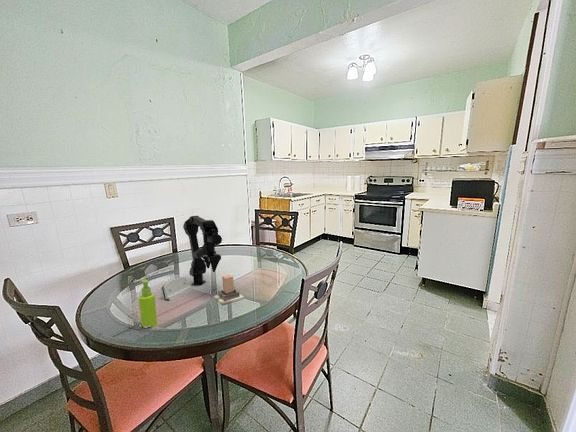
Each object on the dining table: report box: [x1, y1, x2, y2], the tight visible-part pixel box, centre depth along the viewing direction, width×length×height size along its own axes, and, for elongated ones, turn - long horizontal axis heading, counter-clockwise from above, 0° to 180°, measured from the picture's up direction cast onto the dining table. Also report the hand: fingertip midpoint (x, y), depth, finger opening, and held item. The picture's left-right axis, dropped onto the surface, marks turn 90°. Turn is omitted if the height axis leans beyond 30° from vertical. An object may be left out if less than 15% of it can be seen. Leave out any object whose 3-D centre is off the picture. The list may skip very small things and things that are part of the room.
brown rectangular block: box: [221, 274, 235, 295], centre depth 132 cm, size 4×4×11 cm
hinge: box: [160, 276, 193, 302], centre depth 140 cm, size 17×5×10 cm, turn 157°
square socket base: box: [213, 288, 245, 306], centre depth 133 cm, size 12×12×4 cm
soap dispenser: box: [138, 278, 158, 327], centre depth 108 cm, size 6×7×20 cm
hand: (210, 270), depth 140 cm, fingers open, 9 cm apart
